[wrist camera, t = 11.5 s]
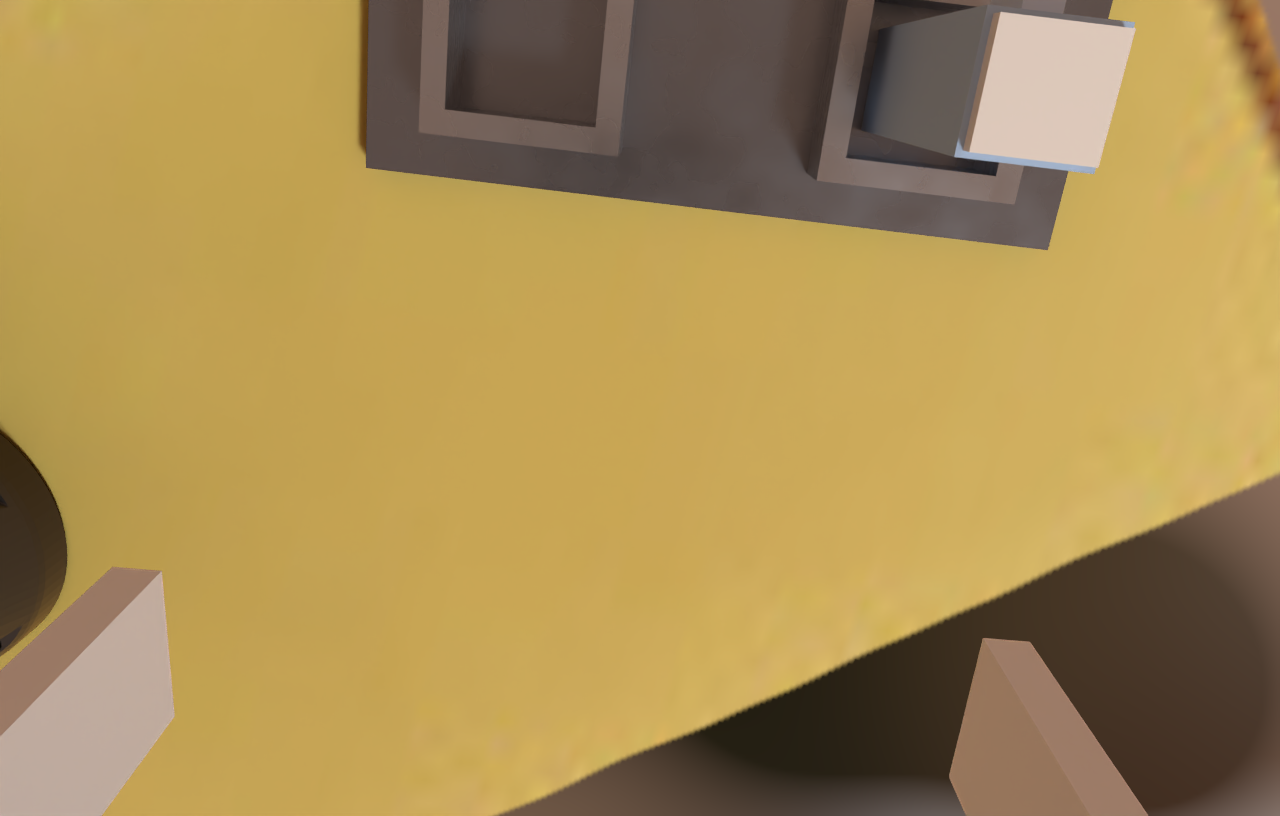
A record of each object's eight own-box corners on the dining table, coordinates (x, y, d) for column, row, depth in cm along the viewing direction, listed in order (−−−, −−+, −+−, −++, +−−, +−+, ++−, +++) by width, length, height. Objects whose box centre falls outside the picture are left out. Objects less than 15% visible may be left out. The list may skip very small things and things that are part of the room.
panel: (372, 165, 42) (343, 174, 38) (378, -139, 38) (346, -163, 34) (1039, 246, 42) (1075, 262, 38) (1114, -48, 38) (1163, -62, 34)
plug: (861, 130, 40) (960, 158, 26) (887, -16, 38) (1010, -69, 24) (954, 141, 40) (1103, 176, 26) (986, -5, 38) (1165, -50, 24)
